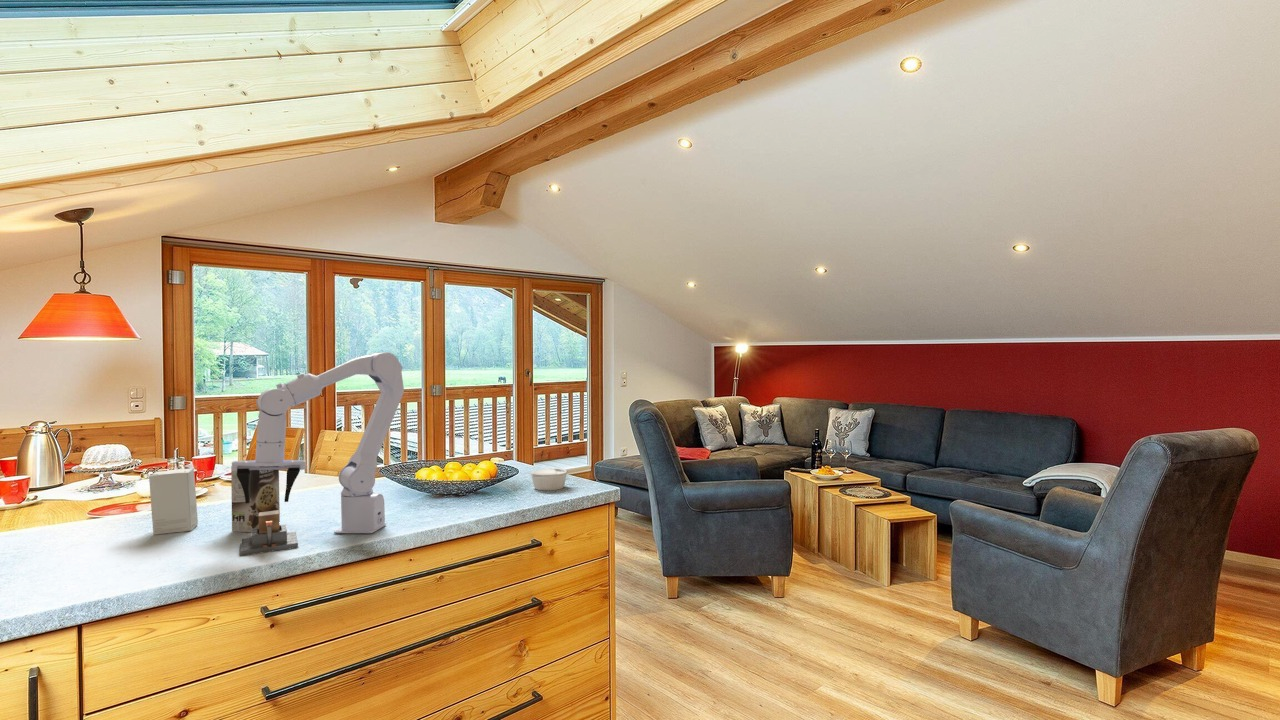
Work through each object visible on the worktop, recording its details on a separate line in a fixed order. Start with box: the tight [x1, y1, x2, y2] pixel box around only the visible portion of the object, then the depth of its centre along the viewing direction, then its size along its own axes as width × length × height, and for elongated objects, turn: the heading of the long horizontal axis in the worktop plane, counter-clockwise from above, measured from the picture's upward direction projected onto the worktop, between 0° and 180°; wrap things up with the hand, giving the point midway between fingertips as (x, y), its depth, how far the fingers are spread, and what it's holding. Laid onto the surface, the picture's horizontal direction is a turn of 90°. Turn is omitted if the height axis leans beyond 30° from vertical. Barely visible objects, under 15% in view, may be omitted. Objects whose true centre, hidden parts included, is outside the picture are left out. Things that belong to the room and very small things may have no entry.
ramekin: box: [530, 468, 568, 492], centre depth 206 cm, size 11×11×5 cm
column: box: [259, 510, 280, 534], centre depth 147 cm, size 4×4×6 cm
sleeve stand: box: [239, 521, 299, 556], centre depth 147 cm, size 11×11×6 cm
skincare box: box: [148, 467, 199, 535], centre depth 161 cm, size 8×6×15 cm
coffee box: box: [230, 466, 281, 533], centre depth 163 cm, size 9×6×16 cm
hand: (267, 501), depth 147 cm, fingers open, 7 cm apart
